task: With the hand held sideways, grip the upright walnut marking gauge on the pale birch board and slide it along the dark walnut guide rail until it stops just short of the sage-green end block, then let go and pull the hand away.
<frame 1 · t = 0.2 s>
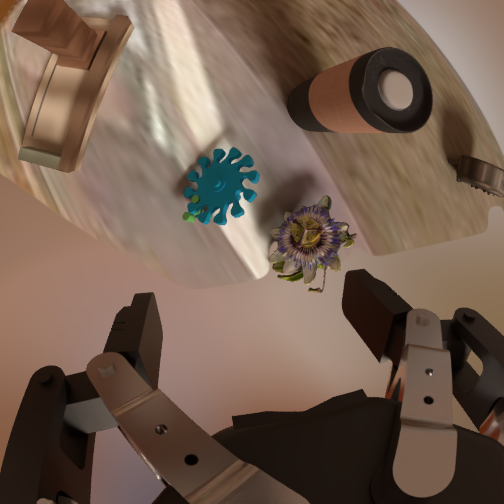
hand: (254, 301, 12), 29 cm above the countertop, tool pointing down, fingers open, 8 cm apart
board: (73, 89, 29), on the countertop
marking gauge: (83, 49, 26), point 2 cm above the countertop, touching board
alarm clock: (459, 171, 45), on the countertop
passion flower: (301, 236, 43), on the countertop
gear: (214, 183, 38), on the countertop
travel mug: (311, 107, 37), on the countertop
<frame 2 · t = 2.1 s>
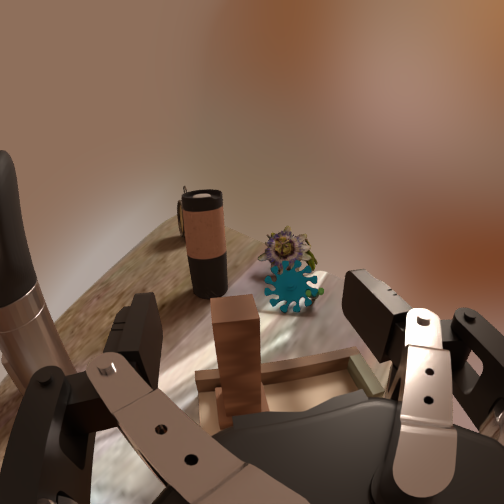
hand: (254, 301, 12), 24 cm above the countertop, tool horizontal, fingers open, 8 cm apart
board: (287, 411, 32), on the countertop
marking gauge: (242, 409, 30), point 2 cm above the countertop, touching board
alarm clock: (190, 238, 89), on the countertop
passion flower: (288, 269, 68), on the countertop
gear: (293, 304, 55), on the countertop
travel mug: (210, 290, 60), on the countertop
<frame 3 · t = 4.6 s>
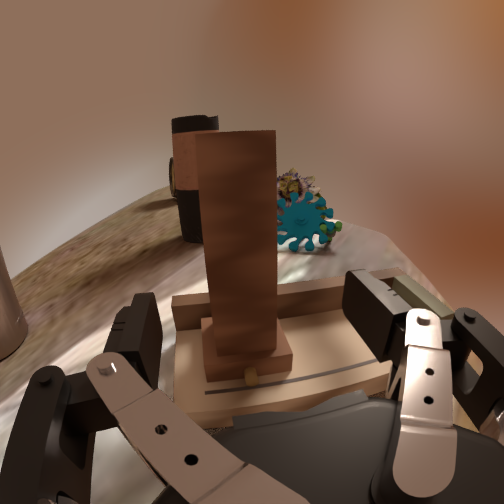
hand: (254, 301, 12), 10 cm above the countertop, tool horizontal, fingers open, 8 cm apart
board: (314, 359, 22), on the countertop
marking gauge: (244, 352, 20), point 2 cm above the countertop, touching board
alarm clock: (182, 200, 79), on the countertop
passion flower: (294, 218, 58), on the countertop
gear: (304, 245, 45), on the countertop
travel mug: (203, 236, 50), on the countertop
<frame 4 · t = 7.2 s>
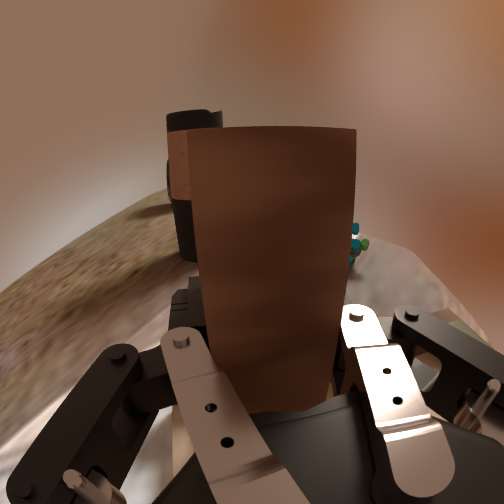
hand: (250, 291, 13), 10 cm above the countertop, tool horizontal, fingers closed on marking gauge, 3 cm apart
board: (351, 435, 15), on the countertop
marking gauge: (265, 441, 13), point 2 cm above the countertop, touching board, gripper
alarm clock: (181, 205, 72), on the countertop
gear: (324, 265, 38), on the countertop
travel mug: (204, 253, 43), on the countertop
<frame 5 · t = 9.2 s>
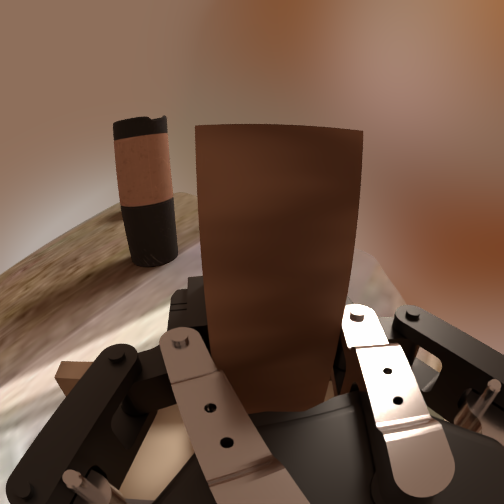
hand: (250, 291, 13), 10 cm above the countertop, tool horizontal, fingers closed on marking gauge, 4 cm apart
board: (231, 459, 14), on the countertop
marking gauge: (260, 442, 13), point 2 cm above the countertop, touching gripper
travel mug: (155, 257, 42), on the countertop
when the fingers open (10 cm above the countertop, at t = 11.1 s): marking gauge stays where it is, resting on board.
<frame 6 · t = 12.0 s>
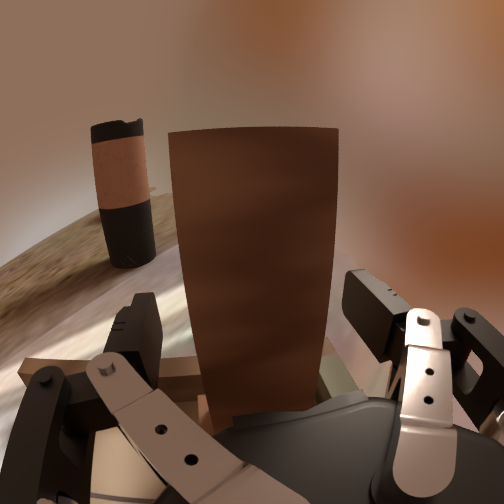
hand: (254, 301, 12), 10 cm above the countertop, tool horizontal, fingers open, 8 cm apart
board: (174, 462, 13), on the countertop
marking gauge: (256, 440, 13), point 2 cm above the countertop, touching board
travel mug: (133, 259, 42), on the countertop
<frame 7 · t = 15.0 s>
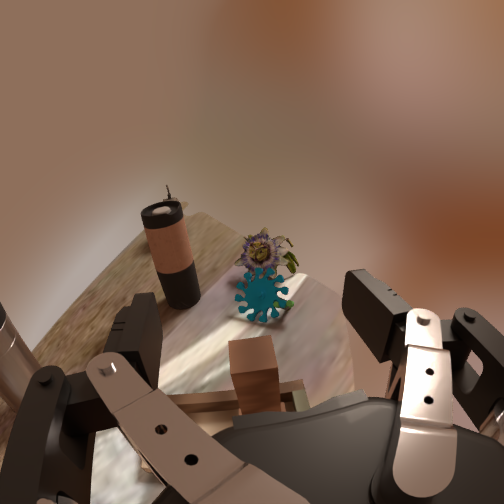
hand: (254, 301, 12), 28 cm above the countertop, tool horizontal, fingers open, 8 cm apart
board: (227, 438, 32), on the countertop
marking gauge: (264, 428, 31), point 2 cm above the countertop, touching board
alarm clock: (178, 236, 88), on the countertop
passion flower: (268, 271, 66), on the countertop
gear: (265, 312, 54), on the countertop
travel mug: (184, 299, 60), on the countertop
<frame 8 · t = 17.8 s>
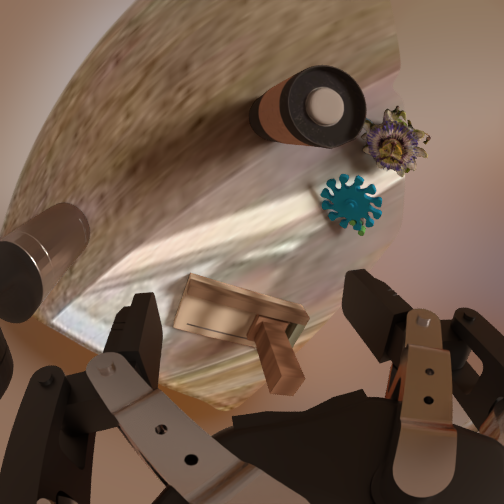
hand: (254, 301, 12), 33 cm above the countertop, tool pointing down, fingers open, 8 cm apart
board: (239, 313, 51), on the countertop
marking gauge: (266, 326, 51), point 2 cm above the countertop, touching board
passion flower: (382, 137, 44), on the countertop
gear: (341, 200, 47), on the countertop
travel mug: (272, 117, 40), on the countertop
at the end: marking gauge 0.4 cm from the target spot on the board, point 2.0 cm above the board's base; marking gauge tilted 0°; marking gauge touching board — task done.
